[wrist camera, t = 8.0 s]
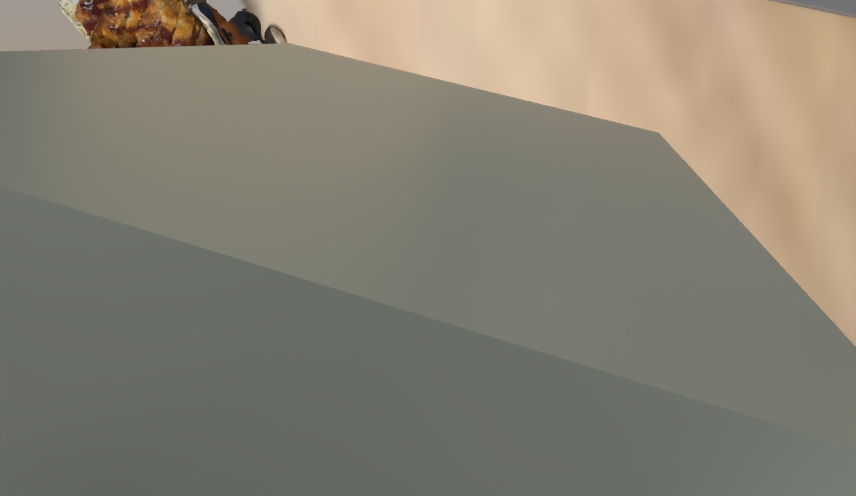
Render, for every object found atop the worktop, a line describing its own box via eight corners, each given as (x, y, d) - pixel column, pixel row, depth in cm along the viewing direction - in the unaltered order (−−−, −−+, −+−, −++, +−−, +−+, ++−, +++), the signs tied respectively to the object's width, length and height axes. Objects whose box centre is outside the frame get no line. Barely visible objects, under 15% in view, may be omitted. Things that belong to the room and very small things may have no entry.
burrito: (67, -88, 25) (-8, -106, 21) (297, 34, 24) (254, 35, 21) (50, 54, 28) (-19, 57, 24) (254, 166, 27) (212, 184, 24)
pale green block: (658, 132, 8) (989, 489, 2) (504, 541, 12) (426, 1139, 5) (289, 43, 9) (-400, 62, 3) (251, 450, 13) (-73, 876, 6)
